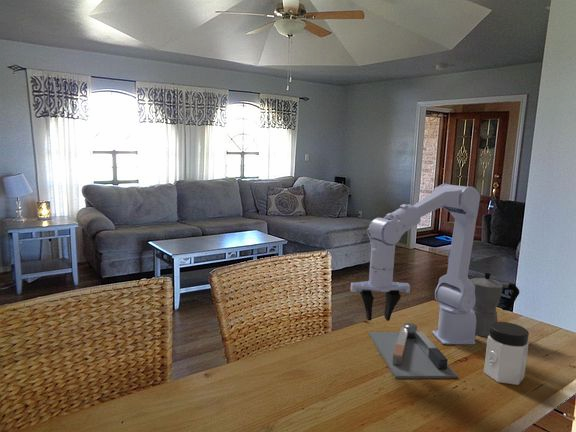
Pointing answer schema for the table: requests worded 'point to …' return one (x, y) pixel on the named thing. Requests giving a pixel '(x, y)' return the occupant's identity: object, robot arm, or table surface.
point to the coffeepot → (489, 302)
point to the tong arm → (403, 342)
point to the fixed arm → (431, 350)
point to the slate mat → (408, 358)
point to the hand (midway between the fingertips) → (377, 319)
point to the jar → (506, 352)
